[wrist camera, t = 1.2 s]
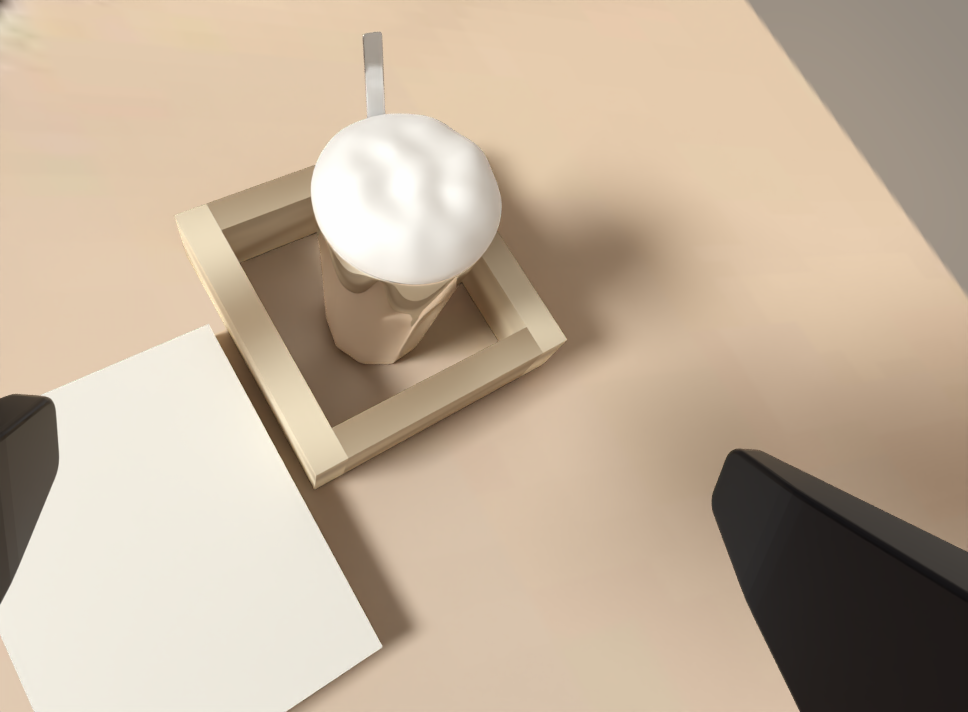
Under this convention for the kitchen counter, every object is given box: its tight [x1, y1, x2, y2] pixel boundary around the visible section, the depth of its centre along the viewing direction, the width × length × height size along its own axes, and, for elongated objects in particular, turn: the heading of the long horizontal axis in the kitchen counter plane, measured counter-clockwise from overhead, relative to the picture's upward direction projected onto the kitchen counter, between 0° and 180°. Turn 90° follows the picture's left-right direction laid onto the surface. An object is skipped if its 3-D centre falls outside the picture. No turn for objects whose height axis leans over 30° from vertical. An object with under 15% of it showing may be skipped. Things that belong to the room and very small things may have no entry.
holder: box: [174, 165, 567, 490], centre depth 23 cm, size 9×9×2 cm
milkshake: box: [311, 32, 502, 364], centre depth 20 cm, size 5×5×10 cm
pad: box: [0, 324, 383, 712], centre depth 20 cm, size 11×8×1 cm
